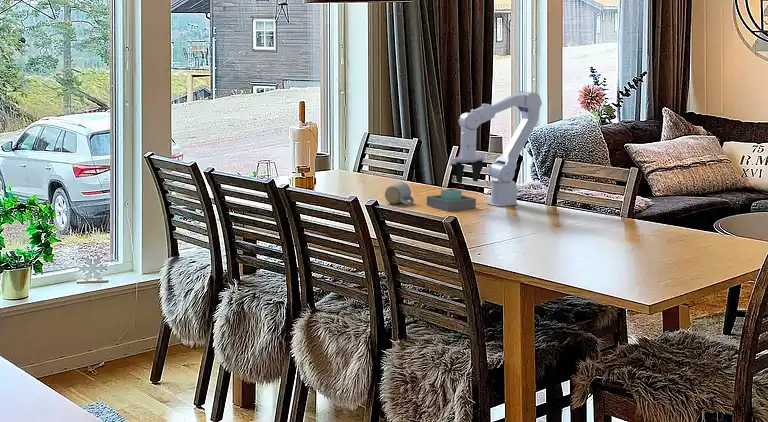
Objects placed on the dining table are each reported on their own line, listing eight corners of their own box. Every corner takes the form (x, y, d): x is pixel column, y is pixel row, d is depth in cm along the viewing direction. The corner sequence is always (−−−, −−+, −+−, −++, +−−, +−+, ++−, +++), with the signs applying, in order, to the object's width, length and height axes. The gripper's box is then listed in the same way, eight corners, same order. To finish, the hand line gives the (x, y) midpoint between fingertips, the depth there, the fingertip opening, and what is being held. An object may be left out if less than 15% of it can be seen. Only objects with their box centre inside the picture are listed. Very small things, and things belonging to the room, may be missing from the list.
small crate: (452, 202, 356) (452, 188, 355) (461, 204, 351) (461, 190, 350) (440, 204, 353) (441, 189, 352) (449, 206, 348) (450, 191, 347)
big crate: (454, 202, 361) (454, 193, 360) (475, 207, 350) (475, 198, 350) (426, 205, 354) (426, 196, 353) (447, 211, 343) (448, 201, 343)
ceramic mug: (383, 203, 357) (383, 183, 355) (394, 200, 364) (394, 180, 362) (407, 207, 351) (407, 186, 350) (418, 203, 358) (418, 183, 357)
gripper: (476, 143, 355) (475, 178, 358) (446, 145, 347) (445, 181, 350) (488, 145, 349) (487, 181, 352) (458, 147, 342) (457, 184, 344)
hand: (467, 181), depth 351 cm, fingers open, 7 cm apart
